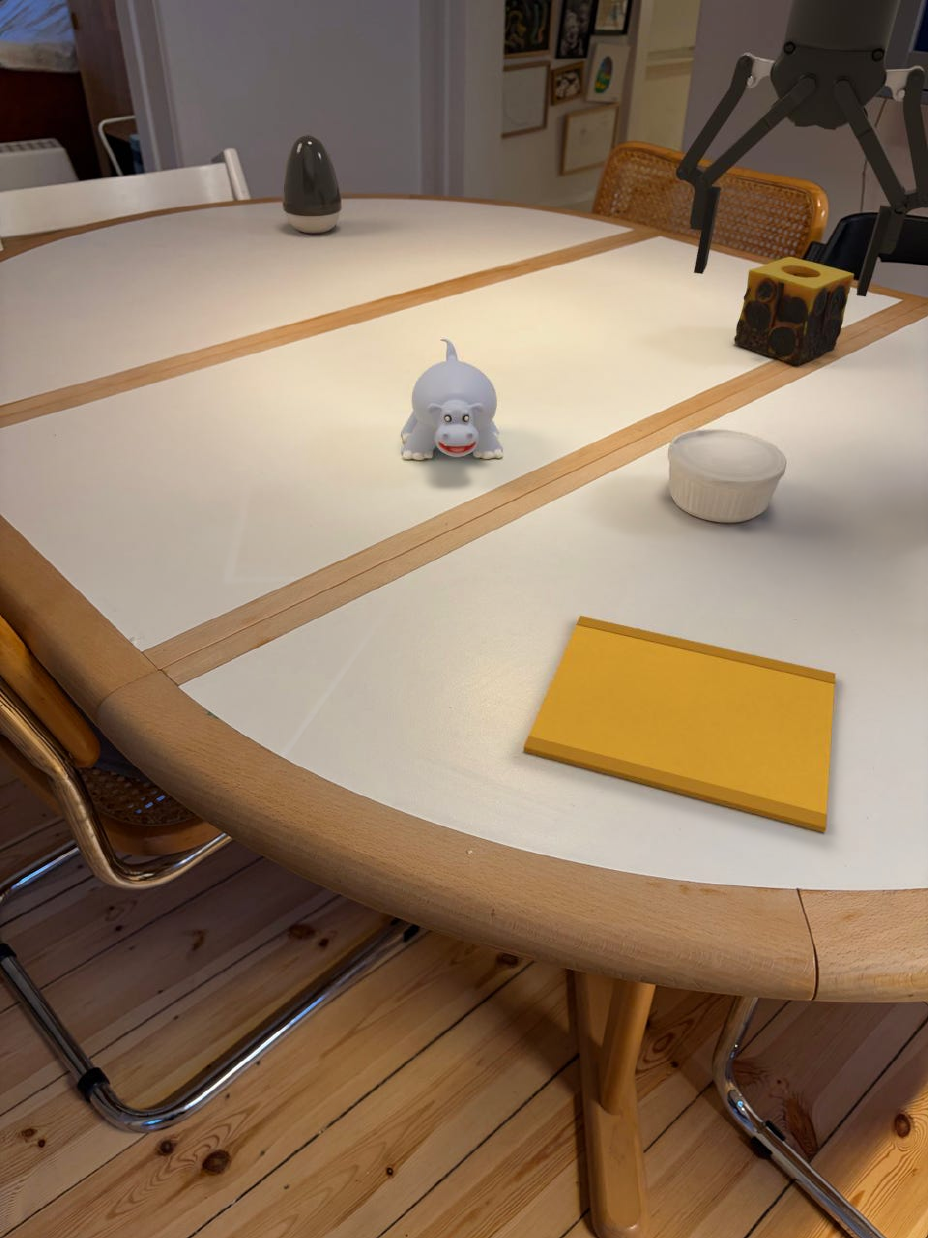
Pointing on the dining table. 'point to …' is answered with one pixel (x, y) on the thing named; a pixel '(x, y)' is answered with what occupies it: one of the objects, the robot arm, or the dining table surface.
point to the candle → (793, 309)
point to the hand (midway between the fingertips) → (779, 280)
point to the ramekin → (723, 474)
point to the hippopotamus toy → (452, 412)
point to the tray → (692, 720)
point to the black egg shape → (310, 187)
